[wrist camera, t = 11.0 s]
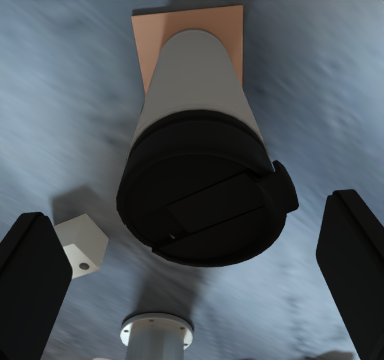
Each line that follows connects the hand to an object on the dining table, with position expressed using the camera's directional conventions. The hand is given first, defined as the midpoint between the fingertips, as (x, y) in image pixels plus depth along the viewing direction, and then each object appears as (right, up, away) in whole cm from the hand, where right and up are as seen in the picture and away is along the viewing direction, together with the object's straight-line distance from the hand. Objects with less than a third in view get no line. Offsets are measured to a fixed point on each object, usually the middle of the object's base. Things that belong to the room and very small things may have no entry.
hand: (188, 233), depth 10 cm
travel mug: (0, +12, +16) cm, 20 cm away
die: (-14, -5, +29) cm, 33 cm away
